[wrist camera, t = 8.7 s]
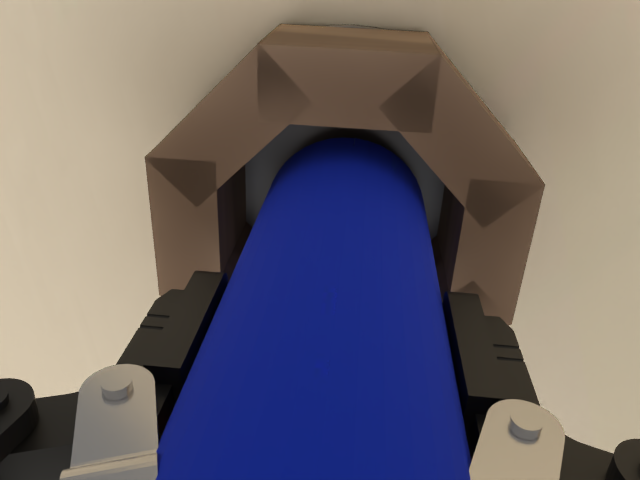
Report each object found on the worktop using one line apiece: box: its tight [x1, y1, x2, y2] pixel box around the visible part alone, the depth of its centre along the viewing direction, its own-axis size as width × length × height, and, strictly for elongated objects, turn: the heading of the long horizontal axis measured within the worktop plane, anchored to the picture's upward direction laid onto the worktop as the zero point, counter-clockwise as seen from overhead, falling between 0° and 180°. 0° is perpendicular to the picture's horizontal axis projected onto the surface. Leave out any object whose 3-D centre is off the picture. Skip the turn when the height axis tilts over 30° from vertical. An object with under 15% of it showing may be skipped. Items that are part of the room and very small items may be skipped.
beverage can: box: [156, 137, 471, 480], centre depth 13 cm, size 5×5×15 cm
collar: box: [145, 24, 545, 326], centre depth 19 cm, size 11×11×5 cm
